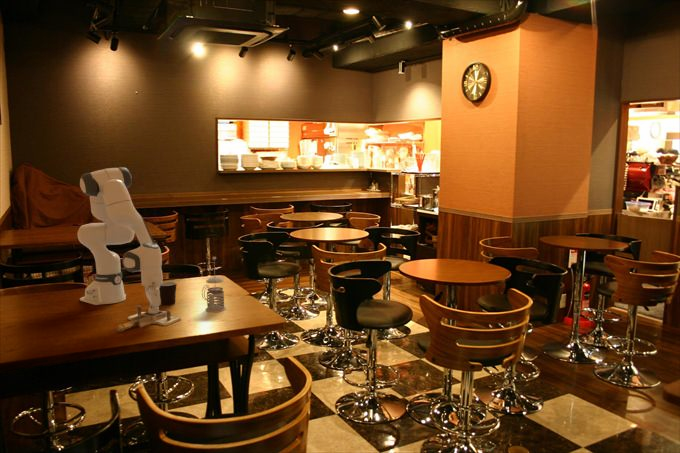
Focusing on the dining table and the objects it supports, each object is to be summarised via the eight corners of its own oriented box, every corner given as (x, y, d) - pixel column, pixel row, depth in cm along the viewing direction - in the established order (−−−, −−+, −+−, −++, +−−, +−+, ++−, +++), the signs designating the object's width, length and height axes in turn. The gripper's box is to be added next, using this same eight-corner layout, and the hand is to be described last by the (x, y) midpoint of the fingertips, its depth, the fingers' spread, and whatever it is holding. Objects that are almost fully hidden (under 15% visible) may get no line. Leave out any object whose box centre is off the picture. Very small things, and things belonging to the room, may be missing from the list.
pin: (123, 332, 227) (122, 325, 226) (117, 331, 228) (117, 324, 227) (139, 326, 235) (139, 319, 234) (134, 325, 236) (133, 318, 235)
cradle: (117, 323, 240) (116, 311, 239) (143, 313, 253) (142, 303, 252) (155, 329, 230) (155, 318, 229) (180, 320, 244) (180, 309, 243)
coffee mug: (172, 306, 265) (171, 286, 263) (155, 305, 266) (154, 285, 265) (183, 300, 276) (182, 280, 275) (167, 299, 278) (166, 279, 276)
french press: (230, 308, 261) (229, 256, 257) (209, 314, 252) (207, 260, 249) (218, 305, 267) (216, 254, 264) (197, 310, 259) (195, 257, 255)
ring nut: (146, 317, 244) (146, 307, 244) (156, 315, 247) (155, 305, 247) (151, 319, 241) (150, 309, 240) (160, 317, 244) (160, 307, 243)
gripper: (163, 284, 234) (164, 316, 236) (156, 275, 252) (157, 304, 254) (147, 286, 231) (149, 318, 233) (141, 276, 249) (143, 306, 251)
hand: (153, 311), depth 244 cm, fingers open, 5 cm apart
